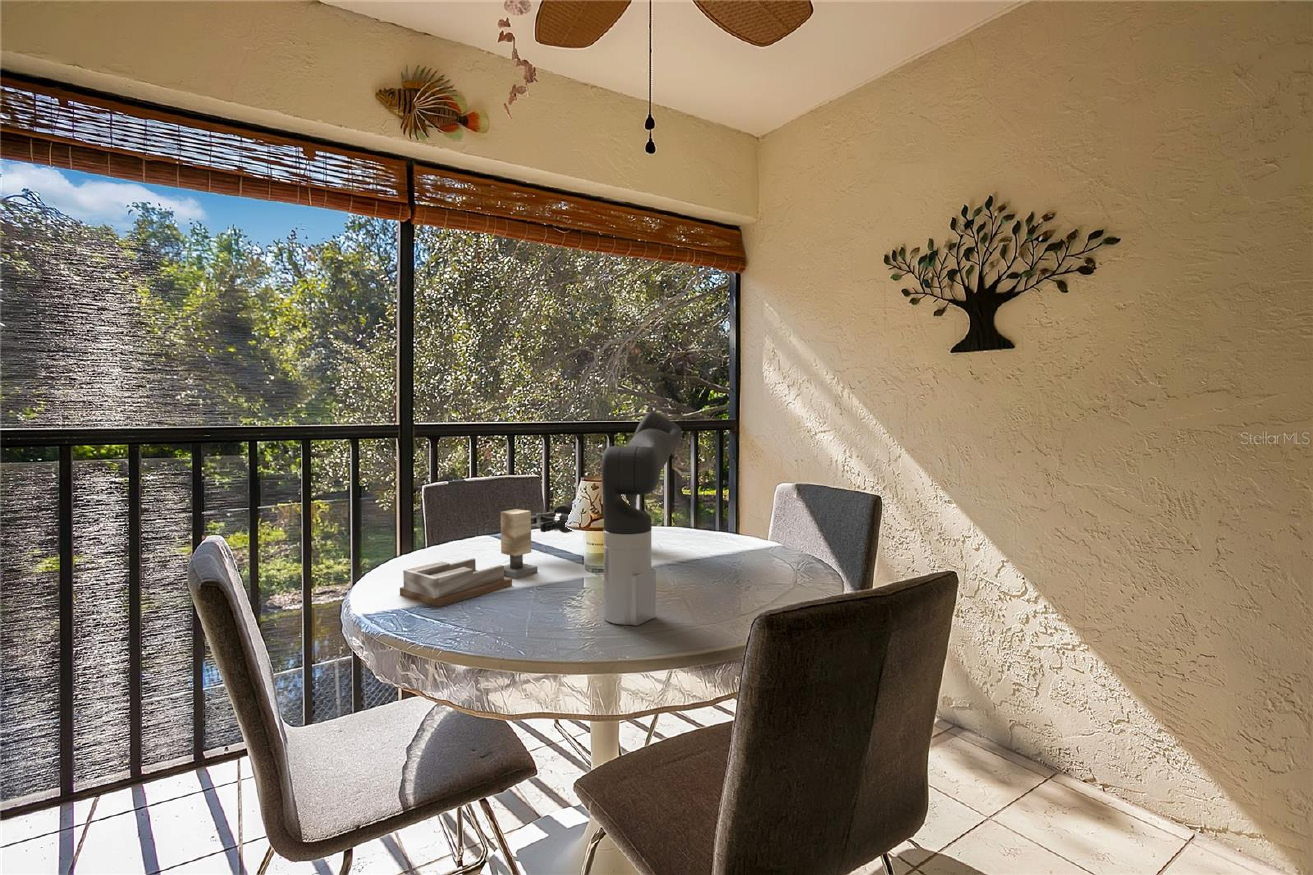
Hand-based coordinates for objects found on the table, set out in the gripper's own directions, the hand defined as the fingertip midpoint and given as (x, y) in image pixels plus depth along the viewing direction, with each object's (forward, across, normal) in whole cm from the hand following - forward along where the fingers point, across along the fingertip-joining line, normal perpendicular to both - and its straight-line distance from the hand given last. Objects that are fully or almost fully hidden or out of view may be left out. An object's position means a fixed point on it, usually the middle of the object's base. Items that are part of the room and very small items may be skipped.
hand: (529, 525), depth 162 cm
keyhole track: (+21, 0, +11) cm, 24 cm away
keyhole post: (+4, 0, +11) cm, 12 cm away
